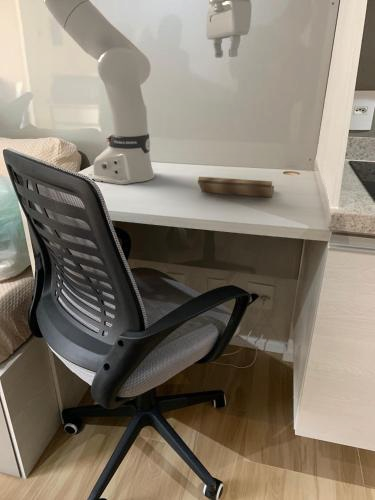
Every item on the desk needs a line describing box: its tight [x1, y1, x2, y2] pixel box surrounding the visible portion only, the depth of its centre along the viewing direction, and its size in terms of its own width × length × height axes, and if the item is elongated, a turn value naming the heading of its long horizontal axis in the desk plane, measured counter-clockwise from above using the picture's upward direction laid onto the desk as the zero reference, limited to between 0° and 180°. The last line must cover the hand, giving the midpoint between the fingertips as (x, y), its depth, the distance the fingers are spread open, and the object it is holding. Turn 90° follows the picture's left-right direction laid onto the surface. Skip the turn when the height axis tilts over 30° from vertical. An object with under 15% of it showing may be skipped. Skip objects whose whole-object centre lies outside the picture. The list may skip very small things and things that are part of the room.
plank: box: [197, 176, 273, 198], centre depth 110 cm, size 20×7×2 cm
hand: (225, 57), depth 104 cm, fingers open, 8 cm apart
